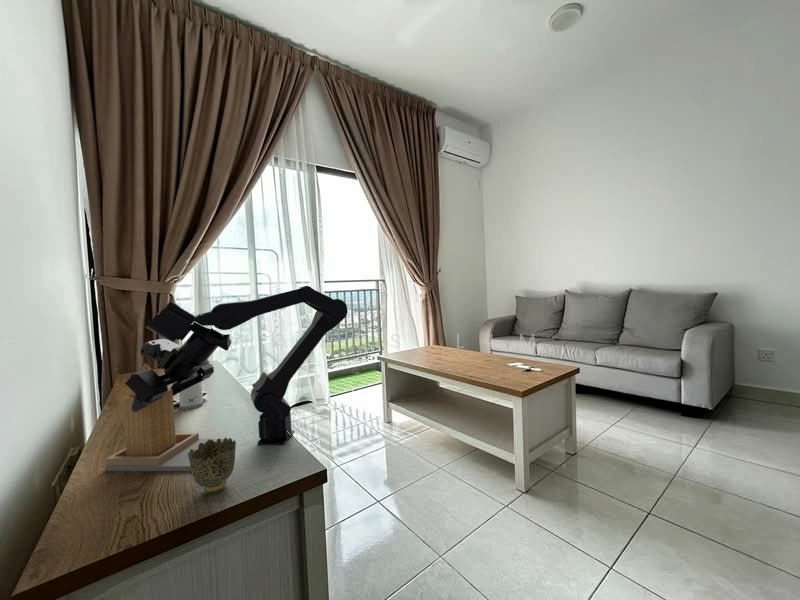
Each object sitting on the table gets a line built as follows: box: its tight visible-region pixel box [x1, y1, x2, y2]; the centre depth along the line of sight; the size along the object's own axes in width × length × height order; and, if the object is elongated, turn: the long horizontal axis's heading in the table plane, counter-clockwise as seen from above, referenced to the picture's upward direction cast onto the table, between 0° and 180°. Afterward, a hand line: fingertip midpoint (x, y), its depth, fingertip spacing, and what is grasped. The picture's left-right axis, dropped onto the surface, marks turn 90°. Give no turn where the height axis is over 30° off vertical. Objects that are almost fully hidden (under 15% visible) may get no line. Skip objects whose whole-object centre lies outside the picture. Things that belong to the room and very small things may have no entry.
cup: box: [188, 437, 237, 495], centre depth 58 cm, size 8×7×8 cm
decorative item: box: [121, 362, 176, 457], centre depth 72 cm, size 7×7×20 cm
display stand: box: [104, 432, 233, 472], centre depth 72 cm, size 20×12×2 cm, turn 86°
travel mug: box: [178, 381, 204, 410], centre depth 104 cm, size 6×7×20 cm
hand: (152, 402), depth 72 cm, fingers open, 9 cm apart
